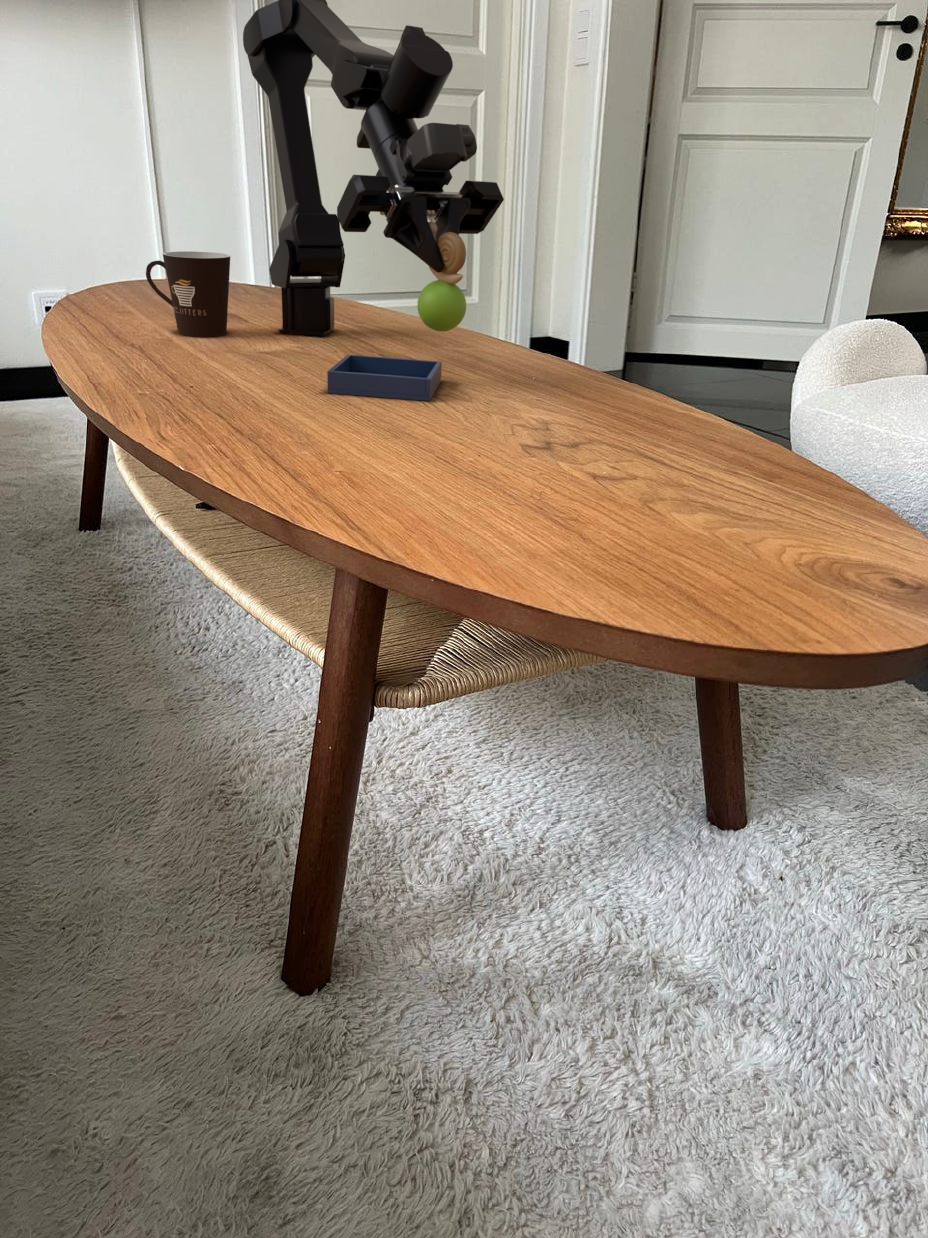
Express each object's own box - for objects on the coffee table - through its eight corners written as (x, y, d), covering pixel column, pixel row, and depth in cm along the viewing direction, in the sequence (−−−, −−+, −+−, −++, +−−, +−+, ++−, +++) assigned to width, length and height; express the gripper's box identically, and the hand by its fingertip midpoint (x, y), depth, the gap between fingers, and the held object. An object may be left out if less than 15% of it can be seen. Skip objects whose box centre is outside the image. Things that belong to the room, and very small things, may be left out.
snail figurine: (432, 320, 106) (446, 209, 100) (472, 335, 102) (488, 220, 96) (398, 323, 102) (410, 208, 96) (438, 338, 98) (453, 219, 92)
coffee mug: (247, 335, 124) (243, 257, 120) (192, 340, 118) (185, 258, 114) (200, 322, 131) (194, 248, 126) (145, 327, 125) (138, 249, 121)
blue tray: (327, 393, 96) (327, 371, 95) (347, 374, 105) (347, 354, 104) (429, 401, 96) (430, 379, 95) (440, 381, 104) (441, 361, 103)
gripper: (349, 83, 89) (404, 215, 86) (500, 100, 99) (554, 219, 96) (315, 168, 98) (363, 289, 96) (456, 176, 108) (503, 286, 105)
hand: (448, 269), depth 98 cm, fingers closed on snail figurine
